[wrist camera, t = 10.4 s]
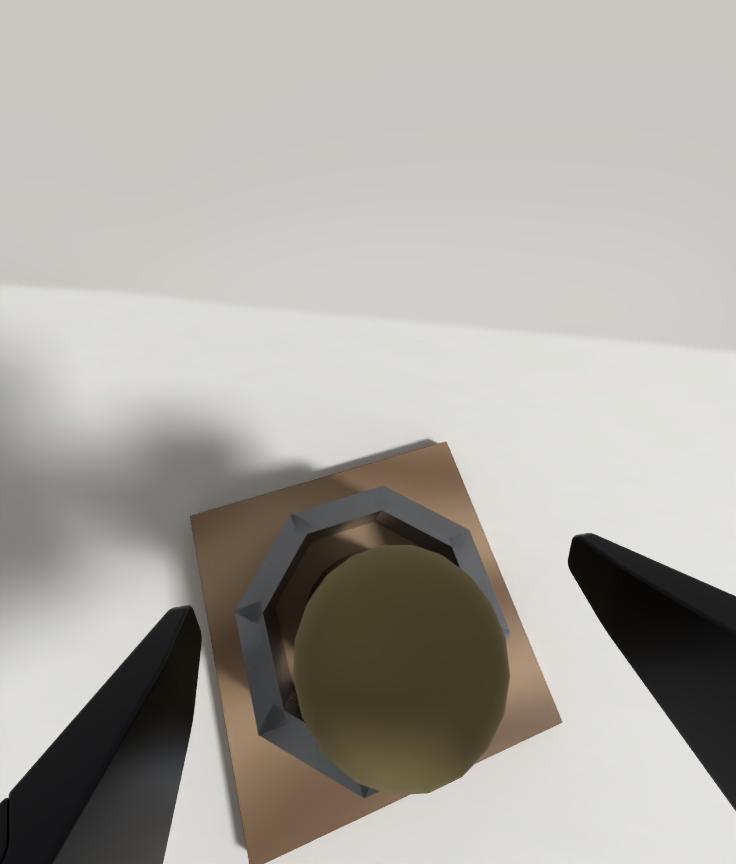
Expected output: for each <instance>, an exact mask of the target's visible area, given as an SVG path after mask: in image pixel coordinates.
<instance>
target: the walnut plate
mask: <svg viewBox="0 0 736 864" xmlns="http://www.w3.org/2000/svg"><path fill="white" fill-rule="evenodd" d="M383 485H384V486H386V487H388V488H389V489H391V490H393V491H395V492H397V493H399V494H401V495H403V496H405V497H407V498H409V499H411V500H413V501H415V502H416V503H418V504H420V505H422V506H424V507H426V508H428V509H430V510H432V511H434V512H436V513H438V514H440V515H442V516H443V517H445V518H447V519H449V520H451V521H453V522H455V523H457V524H459V525H461V526H463V527H465V528H467V529H469V530H470V533H471V535H472V538H473V540H474V542H475V545H476V547H477V550H478V552H479V555H480V557H481V560H482V562H483V565H484V567H485V570H486V572H487V575H488V577H489V580H490V582H491V585H492V587H493V590H494V592H495V595H496V597H497V600H498V602H499V605H500V607H501V610H502V612H503V615H504V617H505V620H506V622H507V625H508V627H509V630H510V631H511V633H510V635H509V638H508V641H507V644H506V645H507V654H508V662H509V670H510V680H509V687H508V693H507V700H506V707H505V714H504V716H503V718H502V720H501V723H500V725H499V727H498V729H497V731H496V733H495V735H494V738H493V740H492V742H491V744H490V746H489V748H488V750H487V751H486V752H485V753H484V754H483V755H482V756H481V757H480V758H479V759H478V760H477V762H476V763H478V762H480V761H482V760H484V759H486V758H488V757H490V756H493V755H495V754H497V753H499V752H501V751H503V750H505V749H507V748H509V747H512V746H514V745H516V744H518V743H520V742H522V741H524V740H526V739H528V738H531V737H533V736H535V735H537V734H539V733H541V732H543V731H545V730H547V729H550V728H552V727H554V726H556V725H558V724H560V723H562V720H561V718H560V715H559V713H558V710H557V708H556V705H555V703H554V701H553V698H552V696H551V693H550V691H549V688H548V686H547V684H546V681H545V679H544V676H543V674H542V672H541V669H540V667H539V664H538V662H537V659H536V657H535V655H534V652H533V650H532V647H531V645H530V643H529V640H528V638H527V635H526V633H525V630H524V628H523V626H522V623H521V621H520V618H519V616H518V613H517V611H516V609H515V606H514V604H513V601H512V599H511V597H510V594H509V592H508V589H507V587H506V584H505V582H504V580H503V577H502V575H501V572H500V570H499V568H498V565H497V563H496V560H495V558H494V555H493V553H492V551H491V548H490V546H489V543H488V541H487V538H486V536H485V534H484V531H483V529H482V526H481V524H480V522H479V519H478V517H477V514H476V512H475V509H474V507H473V505H472V502H471V500H470V497H469V495H468V493H467V490H466V488H465V485H464V483H463V480H462V478H461V476H460V473H459V471H458V468H457V466H456V463H455V461H454V459H453V456H452V454H451V451H450V449H449V447H448V444H447V442H442V443H439V444H436V445H432V446H429V447H425V448H422V449H418V450H415V451H412V452H408V453H405V454H401V455H398V456H394V457H391V458H388V459H384V460H381V461H377V462H374V463H370V464H367V465H364V466H360V467H357V468H353V469H350V470H346V471H343V472H340V473H336V474H333V475H329V476H326V477H322V478H319V479H316V480H312V481H309V482H305V483H302V484H299V485H295V486H292V487H288V488H285V489H281V490H278V491H275V492H271V493H268V494H264V495H261V496H257V497H254V498H251V499H247V500H244V501H240V502H237V503H233V504H230V505H227V506H223V507H220V508H216V509H213V510H209V511H206V512H203V513H199V514H196V515H192V516H190V519H191V525H192V531H193V537H194V543H195V548H196V554H197V560H198V566H199V572H200V578H201V584H202V589H203V595H204V601H205V607H206V613H207V619H208V624H209V630H210V636H211V642H212V648H213V654H214V660H215V665H216V671H217V677H218V683H219V689H220V695H221V701H222V706H223V712H224V718H225V724H226V730H227V736H228V741H229V747H230V753H231V759H232V765H233V771H234V777H235V782H236V788H237V794H238V800H239V806H240V812H241V818H242V823H243V829H244V835H245V841H246V847H247V853H248V858H249V864H264V863H267V862H269V861H271V860H273V859H275V858H277V857H279V856H281V855H283V854H286V853H288V852H290V851H292V850H294V849H296V848H298V847H300V846H302V845H305V844H307V843H309V842H311V841H313V840H315V839H317V838H319V837H321V836H324V835H326V834H328V833H330V832H332V831H334V830H336V829H338V828H341V827H343V826H345V825H347V824H349V823H351V822H353V821H355V820H357V819H360V818H362V817H364V816H366V815H368V814H370V813H372V812H374V811H376V810H379V809H381V808H383V807H385V806H387V805H389V804H391V803H393V802H395V801H398V800H400V799H402V798H404V797H406V796H408V795H410V794H404V795H390V794H387V793H384V792H381V791H379V792H377V793H375V794H373V795H371V796H369V797H366V798H365V799H363V798H362V797H361V796H359V795H357V794H356V793H354V792H352V791H351V790H349V789H347V788H346V787H344V786H342V785H341V784H339V783H337V782H336V781H334V780H332V779H331V778H329V777H327V776H326V775H324V774H322V773H321V772H319V771H317V770H316V769H314V768H312V767H311V766H309V765H307V764H306V763H304V762H302V761H301V760H299V759H297V758H296V757H294V756H292V755H291V754H289V753H287V752H286V751H284V750H282V749H281V748H279V747H278V746H276V745H274V744H273V743H271V742H269V741H268V740H266V739H264V738H263V737H261V736H258V730H257V725H256V720H255V715H254V710H253V705H252V699H251V694H250V689H249V684H248V679H247V673H246V668H245V663H244V658H243V653H242V648H241V642H240V637H239V632H238V627H237V622H236V616H235V612H234V610H235V609H236V607H237V606H238V604H239V602H240V600H241V599H242V597H243V595H244V594H245V592H246V590H247V588H248V587H249V585H250V583H251V582H252V580H253V578H254V576H255V575H256V573H257V571H258V570H259V568H260V566H261V564H262V563H263V561H264V559H265V558H266V556H267V554H268V552H269V551H270V549H271V547H272V546H273V544H274V542H275V540H276V539H277V537H278V535H279V534H280V532H281V530H282V528H283V527H284V525H285V523H286V522H287V520H288V518H289V516H290V514H291V513H295V512H298V511H302V510H305V509H308V508H312V507H315V506H318V505H321V504H325V503H328V502H331V501H335V500H338V499H341V498H344V497H348V496H351V495H354V494H357V493H361V492H364V491H367V490H371V489H374V488H377V487H380V486H383ZM381 545H414V546H417V547H420V548H423V547H421V546H419V545H417V544H415V543H413V542H411V541H409V540H407V539H406V538H404V537H402V536H400V535H398V534H396V533H394V532H392V531H390V530H389V529H387V528H385V527H383V526H381V525H379V524H377V523H375V522H371V523H368V524H365V525H362V526H359V527H356V528H353V529H350V530H346V531H343V532H340V533H337V534H334V535H331V536H328V537H325V538H322V539H319V540H315V541H312V542H311V543H310V545H309V546H308V548H307V550H306V552H305V554H304V556H303V557H302V559H301V561H300V563H299V565H298V567H297V568H296V570H295V572H294V574H293V576H292V578H291V579H290V581H289V583H288V585H287V587H286V589H285V590H284V592H283V594H282V596H281V598H280V599H279V601H278V603H277V605H276V607H275V608H276V613H277V617H278V622H279V626H280V630H281V635H282V639H283V644H284V648H285V653H286V657H287V661H288V666H289V670H290V675H291V679H292V684H293V686H295V684H294V680H293V667H294V648H295V637H296V634H297V631H298V628H299V625H300V622H301V620H302V617H303V614H304V608H305V605H306V603H307V600H308V597H309V594H310V591H311V588H312V587H313V585H314V584H315V583H316V581H317V580H318V578H319V577H320V576H321V574H322V573H323V571H324V570H326V569H327V568H328V567H330V566H331V565H332V564H334V563H335V562H336V561H338V560H339V559H341V558H344V557H347V556H350V555H353V554H356V553H361V552H364V551H367V550H370V549H372V548H375V547H378V546H381ZM423 549H424V548H423ZM476 763H475V764H476Z"/></svg>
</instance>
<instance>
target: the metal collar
mask: <svg viewBox="0 0 736 864" xmlns="http://www.w3.org/2000/svg"><path fill="white" fill-rule="evenodd" d="M371 522H375V523H377V524H379V525H381V526H383V527H385V528H387V529H389V530H390V531H392V532H394V533H396V534H398V535H400V536H402V537H404V538H406V539H407V540H409V541H411V542H413V543H415V544H417V545H419V546H421V547H423V548H424V549H426V550H429V551H432V552H435V553H438V554H441V555H443V556H444V557H445V558H447V559H448V560H449V561H451V562H452V563H453V564H455V565H456V566H458V567H459V568H460V569H462V570H463V571H464V572H466V573H467V574H468V575H469V576H470V577H471V578H472V579H473V580H474V582H475V583H476V584H477V585H478V587H479V588H480V589H481V591H482V592H483V593H484V595H485V596H486V597H487V599H488V600H489V601H490V602H491V604H492V606H493V608H494V611H495V613H496V615H497V618H498V620H499V623H500V625H501V628H502V630H503V633H504V635H505V638H506V644H507V641H508V638H509V635H510V633H511V631H510V630H509V627H508V625H507V622H506V620H505V617H504V615H503V612H502V610H501V607H500V605H499V602H498V600H497V597H496V595H495V592H494V590H493V587H492V585H491V582H490V580H489V577H488V575H487V572H486V570H485V567H484V565H483V562H482V560H481V557H480V555H479V552H478V550H477V547H476V545H475V542H474V540H473V538H472V535H471V533H470V530H469V529H467V528H465V527H463V526H461V525H459V524H457V523H455V522H453V521H451V520H449V519H447V518H445V517H443V516H442V515H440V514H438V513H436V512H434V511H432V510H430V509H428V508H426V507H424V506H422V505H420V504H418V503H416V502H415V501H413V500H411V499H409V498H407V497H405V496H403V495H401V494H399V493H397V492H395V491H393V490H391V489H389V488H388V487H386V486H384V485H383V486H380V487H377V488H374V489H371V490H367V491H364V492H361V493H357V494H354V495H351V496H348V497H344V498H341V499H338V500H335V501H331V502H328V503H325V504H321V505H318V506H315V507H312V508H308V509H305V510H302V511H298V512H295V513H291V514H290V516H289V518H288V520H287V522H286V523H285V525H284V527H283V528H282V530H281V532H280V534H279V535H278V537H277V539H276V540H275V542H274V544H273V546H272V547H271V549H270V551H269V552H268V554H267V556H266V558H265V559H264V561H263V563H262V564H261V566H260V568H259V570H258V571H257V573H256V575H255V576H254V578H253V580H252V582H251V583H250V585H249V587H248V588H247V590H246V592H245V594H244V595H243V597H242V599H241V600H240V602H239V604H238V606H237V607H236V609H235V610H234V612H235V616H236V622H237V627H238V632H239V637H240V642H241V648H242V653H243V658H244V663H245V668H246V673H247V679H248V684H249V689H250V694H251V699H252V705H253V710H254V715H255V720H256V725H257V730H258V736H261V737H263V738H264V739H266V740H268V741H269V742H271V743H273V744H274V745H276V746H278V747H279V748H281V749H282V750H284V751H286V752H287V753H289V754H291V755H292V756H294V757H296V758H297V759H299V760H301V761H302V762H304V763H306V764H307V765H309V766H311V767H312V768H314V769H316V770H317V771H319V772H321V773H322V774H324V775H326V776H327V777H329V778H331V779H332V780H334V781H336V782H337V783H339V784H341V785H342V786H344V787H346V788H347V789H349V790H351V791H352V792H354V793H356V794H357V795H359V796H361V797H362V798H363V799H365V798H366V797H369V796H371V795H373V794H375V793H377V792H379V791H378V790H376V789H373V788H370V787H367V786H364V785H362V784H359V783H356V782H355V781H354V780H353V779H351V778H350V777H349V776H348V775H347V774H346V773H345V772H343V771H342V770H341V769H340V768H339V767H338V766H336V765H335V764H334V763H333V762H332V761H331V760H329V759H328V758H327V757H326V756H325V754H324V753H323V752H322V750H321V749H320V747H319V745H318V743H317V742H316V740H315V738H314V737H313V735H312V733H311V731H310V730H309V728H308V726H307V725H306V723H305V721H304V719H303V718H302V714H301V710H300V706H299V702H298V697H297V693H296V689H295V686H293V684H292V679H291V675H290V670H289V666H288V661H287V657H286V653H285V648H284V644H283V639H282V635H281V630H280V626H279V622H278V617H277V613H276V608H275V607H276V605H277V603H278V601H279V599H280V598H281V596H282V594H283V592H284V590H285V589H286V587H287V585H288V583H289V581H290V579H291V578H292V576H293V574H294V572H295V570H296V568H297V567H298V565H299V563H300V561H301V559H302V557H303V556H304V554H305V552H306V550H307V548H308V546H309V545H310V543H311V542H312V541H315V540H319V539H322V538H325V537H328V536H331V535H334V534H337V533H340V532H343V531H346V530H350V529H353V528H356V527H359V526H362V525H365V524H368V523H371Z"/></svg>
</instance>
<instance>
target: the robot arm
mask: <svg viewBox="0 0 736 864" xmlns="http://www.w3.org/2000/svg"><path fill="white" fill-rule="evenodd" d="M568 566H569V569H570V571H571V573H572V575H573V576H574V578H575V580H576V581H577V583H578V585H579V587H580V588H581V590H582V592H583V593H584V595H585V597H586V598H587V600H588V602H589V603H590V605H591V607H592V609H593V610H594V612H595V614H596V615H597V617H598V619H599V620H600V622H601V623H602V625H603V627H604V628H605V630H606V631H607V633H608V634H609V636H610V637H611V638H612V640H613V641H614V643H615V644H616V645H617V647H618V648H619V650H620V651H621V652H622V654H623V655H624V657H625V658H626V659H627V661H628V662H629V663H630V665H631V666H632V668H633V669H634V670H635V672H636V673H637V675H638V676H639V677H640V679H641V680H642V682H643V683H644V684H645V686H646V687H647V688H648V690H649V691H650V693H651V694H652V695H653V697H654V698H655V700H656V701H657V702H658V704H659V705H660V707H661V708H662V709H663V711H664V712H665V713H666V715H667V716H668V718H669V719H670V720H671V722H672V723H673V725H674V726H675V727H676V729H677V730H678V732H679V733H680V734H681V736H682V737H683V738H684V740H685V741H686V743H687V744H688V745H689V747H690V748H691V750H692V751H693V752H694V754H695V755H696V757H697V758H698V759H699V761H700V762H701V764H702V765H703V766H704V768H705V769H706V770H707V772H708V773H709V775H710V776H711V777H712V779H713V780H714V782H715V783H716V784H717V786H718V787H719V789H720V790H721V791H722V793H723V794H724V795H725V797H726V798H727V800H728V801H729V802H730V804H731V805H732V807H733V808H734V809H735V811H736V596H734V595H732V594H729V593H727V592H725V591H722V590H720V589H718V588H716V587H713V586H711V585H709V584H707V583H704V582H702V581H700V580H697V579H695V578H693V577H691V576H688V575H686V574H684V573H681V572H679V571H677V570H675V569H672V568H670V567H668V566H666V565H663V564H661V563H659V562H656V561H654V560H652V559H650V558H647V557H645V556H643V555H641V554H638V553H636V552H634V551H631V550H629V549H627V548H625V547H622V546H620V545H618V544H615V543H613V542H611V541H609V540H606V539H604V538H602V537H600V536H597V535H595V534H592V533H585V534H580V535H576V536H574V537H573V539H572V542H571V547H570V552H569V557H568ZM201 641H202V638H201V631H200V627H199V625H198V622H197V619H196V616H195V613H194V610H193V608H192V607H191V606H189V605H186V606H181V607H175V608H172V609H170V610H169V611H168V612H167V613H166V614H165V615H164V616H163V617H162V618H161V619H160V621H159V622H158V623H157V624H156V625H155V626H154V628H153V629H152V630H151V631H150V632H149V633H148V634H147V636H146V637H145V638H144V639H143V640H142V641H141V642H140V644H139V645H138V646H137V647H136V648H135V649H134V650H133V652H132V653H131V654H130V655H129V656H128V657H127V658H126V660H125V661H124V662H123V663H122V664H121V665H120V667H119V668H118V669H117V670H116V671H115V672H114V673H113V675H112V676H111V677H110V678H109V679H108V680H107V681H106V683H105V684H104V685H103V686H102V687H101V688H100V689H99V691H98V692H97V693H96V694H95V695H94V696H93V697H92V699H91V700H90V701H89V702H88V703H87V704H86V706H85V707H84V708H83V709H82V710H81V711H80V712H79V714H78V715H77V716H76V717H75V718H74V719H73V720H72V722H71V723H70V724H69V725H68V726H67V727H66V728H65V730H64V731H63V732H62V733H61V734H60V735H59V736H58V738H57V739H56V740H55V741H54V742H53V743H52V745H51V746H50V747H49V748H48V749H47V750H46V751H45V753H44V754H43V755H42V756H41V757H40V758H39V759H38V761H37V762H36V763H35V764H34V765H33V766H32V767H31V769H30V770H29V771H28V772H27V773H26V774H25V776H24V777H23V778H22V779H21V780H20V781H19V782H18V784H17V785H16V786H15V787H14V788H13V789H12V790H11V792H10V793H9V798H5V799H4V800H2V802H1V803H0V864H163V860H164V856H165V851H166V846H167V842H168V837H169V832H170V827H171V823H172V818H173V813H174V809H175V804H176V799H177V794H178V790H179V785H180V780H181V775H182V771H183V766H184V761H185V757H186V752H187V747H188V742H189V738H190V733H191V727H192V722H193V715H194V707H195V698H196V689H197V679H198V670H199V661H200V651H201Z"/></svg>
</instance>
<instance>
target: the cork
mask: <svg viewBox="0 0 736 864" xmlns="http://www.w3.org/2000/svg"><path fill="white" fill-rule="evenodd" d="M293 680H294V684H295V689H296V693H297V697H298V702H299V706H300V710H301V714H302V718H303V719H304V721H305V723H306V725H307V726H308V728H309V730H310V731H311V733H312V735H313V737H314V738H315V740H316V742H317V743H318V745H319V747H320V749H321V750H322V752H323V753H324V754H325V756H326V757H327V758H328V759H329V760H331V761H332V762H333V763H334V764H335V765H336V766H338V767H339V768H340V769H341V770H342V771H343V772H345V773H346V774H347V775H348V776H349V777H350V778H351V779H353V780H354V781H355V782H356V783H359V784H362V785H364V786H367V787H370V788H373V789H376V790H378V791H381V792H384V793H387V794H390V795H404V794H422V793H430V792H432V791H434V790H436V789H438V788H440V787H442V786H444V785H446V784H448V783H451V782H453V781H455V780H457V779H459V778H461V777H462V776H463V775H464V774H465V773H466V772H467V771H468V770H469V769H470V768H471V767H472V766H473V765H474V764H475V763H476V762H477V760H478V759H479V758H480V757H481V756H482V755H483V754H484V753H485V752H486V751H487V750H488V748H489V746H490V744H491V742H492V740H493V738H494V735H495V733H496V731H497V729H498V727H499V725H500V723H501V720H502V718H503V716H504V714H505V707H506V700H507V693H508V687H509V680H510V670H509V662H508V654H507V645H506V638H505V635H504V633H503V630H502V628H501V625H500V623H499V620H498V618H497V615H496V613H495V611H494V608H493V606H492V604H491V602H490V601H489V600H488V599H487V597H486V596H485V595H484V593H483V592H482V591H481V589H480V588H479V587H478V585H477V584H476V583H475V582H474V580H473V579H472V578H471V577H470V576H469V575H468V574H467V573H466V572H464V571H463V570H462V569H460V568H459V567H458V566H456V565H455V564H453V563H452V562H451V561H449V560H448V559H447V558H445V557H444V556H443V555H441V554H438V553H435V552H432V551H429V550H426V549H423V548H420V547H417V546H414V545H381V546H378V547H375V548H372V549H370V550H367V551H364V552H361V553H356V554H353V555H350V556H347V557H344V558H341V559H339V560H338V561H336V562H335V563H334V564H332V565H331V566H330V567H328V568H327V569H326V570H324V571H323V573H322V574H321V576H320V577H319V578H318V580H317V581H316V583H315V584H314V585H313V587H312V588H311V591H310V594H309V597H308V600H307V603H306V605H305V608H304V614H303V617H302V620H301V622H300V625H299V628H298V631H297V634H296V637H295V648H294V667H293Z"/></svg>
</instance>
